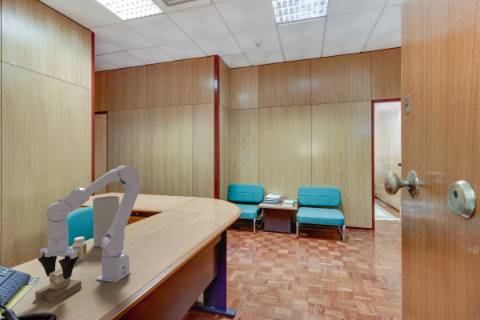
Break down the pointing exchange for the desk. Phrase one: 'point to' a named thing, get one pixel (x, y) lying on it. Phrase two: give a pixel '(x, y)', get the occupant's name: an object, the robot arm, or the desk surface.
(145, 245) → the desk surface
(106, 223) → the cylinder vase
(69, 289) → the walnut block
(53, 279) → the maple block
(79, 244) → the supplement bottle
